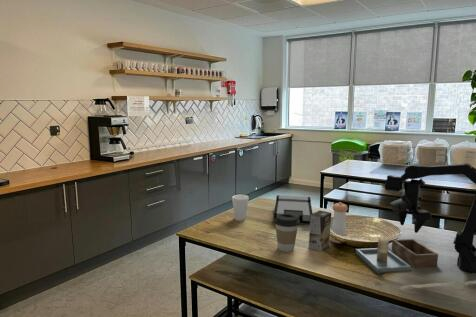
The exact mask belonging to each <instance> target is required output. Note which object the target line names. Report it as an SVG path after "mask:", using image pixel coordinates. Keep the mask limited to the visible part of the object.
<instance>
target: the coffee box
mask: <svg viewBox="0 0 476 317" xmlns="http://www.w3.org/2000/svg"><path fill="white" fill-rule="evenodd" d="M312 213H313V214H310V224H309V235H308V248H309V249H312V250H315V251H319V252H321V251H323V250H324V249H326V248H328V247H330V241H331V228H332V225H331V224H332V212H328V211H324V210H317V211H315V212H312Z"/></svg>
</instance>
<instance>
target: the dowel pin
mask: <svg viewBox="0 0 476 317" xmlns="http://www.w3.org/2000/svg"><path fill="white" fill-rule="evenodd" d="M377 242H378V243H377V248H378V250H377V261H378V262H381V263H386V262H387V256H388V250H389V246H390V245H389V243H390V241H389V240H388V239H387V238H381V237H380V238H378V239H377Z"/></svg>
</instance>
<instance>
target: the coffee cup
mask: <svg viewBox="0 0 476 317" xmlns="http://www.w3.org/2000/svg"><path fill="white" fill-rule="evenodd" d="M273 222H274V224H275V233H276V242H277V248H278V250H279V251H281V252H285V253H287V252H292V251H294V248H295V246H296V239H297V234H298V226H299V225H300V223H299V219H297V217H296V216H295V215H292V214H280V215H278V216H277V218H275V219H274V221H273Z"/></svg>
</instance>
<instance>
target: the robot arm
mask: <svg viewBox="0 0 476 317" xmlns="http://www.w3.org/2000/svg"><path fill="white" fill-rule="evenodd" d="M446 175H447V176H451V175H464V176H465V177H466V178H467V179H469V180H470V181H471V182H472V183H474V184H475V185H476V167H474V166H473V165H472V164H470V163H468V162H464V163H457V164H456V163H453V164H438V165H427V164H420V163H411V164H409V165H407V167H405V169H404V173H403V174H402V175H401V176H396V175H391V174H389V175H387V176H386V180H385V183H384V188H385V191H387V192H388V191H389V192H396V193H400V192H401V191H403V190H404V191H403V194H401V196H400V198H399V199H396V200H393V201H391V202H390V203H389V204H390V208H391V210H392V211H394V212H395V213H397V216H398V220H399V223H400V224H399V225H400V226H404V224H405V222H406V219H407V215H408V212H409V213H411V215H412V217H411V219H412V220H413V221H414V222H413V223H414V224H413V225H414V227H413V230H414V233H415V234H418V232H419V231H420V230H421V228H422V227H423V225H424V224H425V223H426V222H427V221H429V220H431V219H432V213H431V211H428V210H426V209H421V205H419V202H420V201H419V200H422V197H421V196H420V189H421V188H420V187H421V186H424V185H426V182H425V180H423V178H425V177H429V176H446ZM474 195H475V196H474V200H473V202H472V205H471V207H470V211H469V213H468V216H467V218H466V221H465V224H464V227H463V229H462V230H459V229H457V231H456V234H455V237H454V239H453V242H452V243H453V245H454V250H455V251H456V252H457V253H458V256H457V262H456V266H457V268H458V269H459V270H461V271H462V272H464V273H469V274H476V246H475V245H474V237H475V232H476V193H475V194H474Z"/></svg>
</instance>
